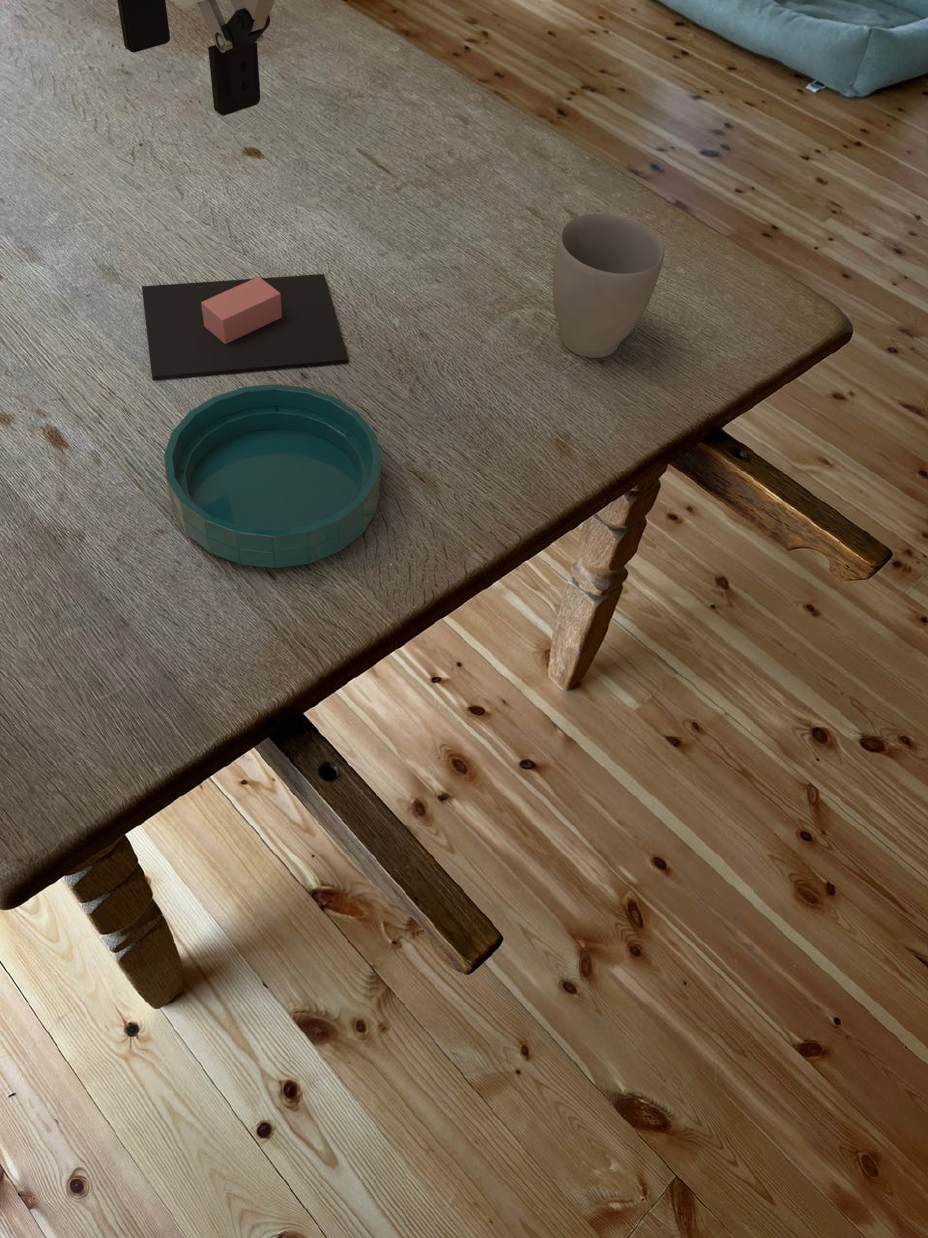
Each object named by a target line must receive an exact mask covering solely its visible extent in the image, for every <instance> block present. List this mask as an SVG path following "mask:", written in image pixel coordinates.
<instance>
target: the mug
mask: <svg viewBox="0 0 928 1238" xmlns="http://www.w3.org/2000/svg"><path fill="white" fill-rule="evenodd" d="M664 258H665V248H664V245H663V243H662V241H661V239H660V237H659V236H658V234H657V233H655V232H654V231H653V230H652V229H651V228H649V227H648V226H647V225H645V224H643V223H642V222H639V221H637V220H634V219H632V218H631V217H628V216H627V217H626V216H623V215H619V214H615V213H603V212H601V213H600V212H599V213H598V212H597V213H588V214H587V213H586V214H584V215H580V216H577V217H575V218H573V219H571V220H570V221H568V222H567V223H566V224H565V225H564V226H563V227H562V229H561V230H560V233H559V235H558V240H557V244H556V250H555V257H554V263H553V273H552V301H553V309H554V314H555V319H556V322H557V325H558V329H559V338H560V340H561V343H562V344H563V346H564V347H565V348H566V349H567V350H568V351H570V352H572V353H574V354H576V355H578V356H581V357H584V358H590V359H601V358H605V357H608V356H610V355H612V354H613V353H615V352H616V351H617V349H618V347H619V346H620V345H621V343H622V342H623V341H624V340H625V339H626V338H627V336H628V335H629V334H630V333H631V332H632V331H633V329H634V328H635V327H636V325H638V323H639V321H640V319H642V316H643V314H644V312H645V311H646V309H647V307H648V305H649V303H650V300H651V298H652V296H653V293H654V291H655V288H656V286H657V282H658V280H659V277H660V274H661V270H662V267H663V264H664Z"/></svg>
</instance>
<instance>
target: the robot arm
mask: <svg viewBox="0 0 928 1238" xmlns="http://www.w3.org/2000/svg"><path fill="white" fill-rule="evenodd" d="M166 1H167V0H116V2H117V8H118V15H119V21H120V26H121V33H122V39H123V46H124V48H125V49H126V50H127V51H129V52H131V53H133V54H134V53H138V52H142V51H145V50H148V49H153V48H156V47H159V46H162V45H166V44H168V43H169V42H170V40H171V34H170V26H169V25H170V24H169V18H168V17H169V16H168V9H167V2H166ZM169 1H170V2H171V3H173V4H175V5H176V6H178V7H180V8H183V9H191V8H195V7H196V6H198V8H199V10H200V12H201V15H202V17H203V20H204V22H205V25H206V26H207V28H208V31H209V33H210V36H211V38H212V41H213V43H214V44H213V45H211V46H207V49H208V62H209V71H210V82H211V92H212V103H213V109H214V111H215V112H216V113H217V114H219V115H220V116H222V117H224V116H225V117H226V116H228V115H231V114H234V113H237V112H240V111H243V110H245V109H248V108H251V107H255V106H257V105H258V104H259V102H260V101H261V83H260V67H259V51H258V43H260V42H262V41H263V40H264V33H265V31H266V30H267V29H268V28H269V26H270V24H271V16H270V15H271V12H272V10H273V6H274V3H275V0H169ZM228 1H230V2H231V4H232V7H233V9H234V11H235V12H234V13H233V14H232V15H231V17H230V18H229V20H228V21H227V22H226V20H225V18H224V16H223V14H222V11H221V8H220V6H219V4H221V3H225V2H228Z"/></svg>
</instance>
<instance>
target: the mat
mask: <svg viewBox="0 0 928 1238" xmlns="http://www.w3.org/2000/svg"><path fill="white" fill-rule="evenodd" d="M261 278H262V279H263V280H264V281H265V282H267V283H268V284H269V285H271V286H272V287H273V288H274V289H276V290H277V291H278V292H279V293H280V294H281V310H282V318H280V319H278V320H276V321H273V322H271V323H269V324H267V325H265V326H263V327H261V328H259V329H257V330H255V331H252V332H250V333H248V334H246V335H244V336H242V337H240V338H238V339H236V340H234V341H231V342H229V343H227V344H224V343H223V342H222V341H221V340H220V339H218V338H217V337H216V336H215V335H214V334H213V333H211V332H210V331H209V330H208V329H207V328H205V327H204V321H203V313H202V305H201V302H203V301H205V300H207V299H209V298H212V297H214V296H216V295H218V294H221V293H223V292H225V291H227V290H230V289H232V288H234V287H236V286H239V285H241V284H243V283H245V282H248V281H250V280H252V279H253V278H244V279H243V278H242V279H229V280H228V279H227V280H214V281H197V282H184V283H183V282H182V283H172V284H171V283H169V284H155V285H142V286H141V292H142V293H141V294H142V301H143V309H144V318H145V327H146V335H147V344H148V345H147V346H148V354H149V363H150V371H151V379H152V381H159V380H169V379H170V380H171V379H179V378H180V379H181V378H182V379H183V378H192V377H193V378H194V377H204V376H216V375H226V374H227V375H228V374H236V373H238V374H239V373H248V372H259V371H260V372H261V371H272V370H284V369H293V368H306V367H318V366H329V365H339V364H348V363H349V357H348V354H347V353H348V352H347V350H346V346H345V343H344V339H343V336H342V333H341V328H340V325H339V322H338V319H337V314H336V311H335V308H334V304H333V300H332V296H331V293H330V289H329V287H328V283H327V279H326V275H325V274H324V273H316V274H303V275H302V274H301V275H288V276H274V277H261Z"/></svg>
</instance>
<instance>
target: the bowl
mask: <svg viewBox="0 0 928 1238" xmlns="http://www.w3.org/2000/svg"><path fill="white" fill-rule="evenodd" d="M377 439H378V438H377V435H376V434H375V431H373V429H372V428H371V426H370V425H369V424H368V423H367V421H366V420H365V419H364V417H363V416H362V415H361V414H360V413H359V412H358V411H357V410H354V409H353V408H352V407H350V406H349V405H347V404H346V403H345V402H343V401H342V400H341V399H338V398H337V397H335V396H332V395H329V394H326V393H323V392H321V391H318V390H315V389H312V388H308V387H303V386H295V385H287V384H278V383H277V384H275V383H274V384H262V385H251V386H244V387H243V386H242V387H239V388H236V389H234V390H230V391H227V392H224V393H221V394H217V395H215V396H212V397H211V398H209V399H208V400H206V401H204V402H203V403H201V404H199V405H198V406H196V407H195V408H193V409H192V410H190V411H189V412H188V413H187V414H185V416H184V417H183V419H182V420H181V421H180V422H179V423H178V425H176V427H175V428H174V429H173V430H172V431H171V433H170V436H169V439H168V441H167V445H166V448H165V451H164V454H163V461H164V469H165V471H164V472H165V479H166V483H167V488H168V494H169V498H170V505H171V509H172V513H173V515H174V517H175V518H176V519H177V521H178V523H179V524H180V526H181V528H182V529H183V531H184V533H185V534H186V535H187V537H189V538H191V539H192V540H193V541H194V542H196V543H197V544H198V545H199V546H201V547H202V548H203V549H204V550H206V551H207V552H208V553H210V554H212V555H215V556H217V557H220V558H222V559H226V560H228V561H231V562H233V563H236V564H238V565H243V566H253V567H261V568H272V569H273V568H274V569H279V568H286V567H287V568H288V567H295V566H301V565H309V564H312V563H314V562H317V561H319V560H321V559H324V558H326V557H329V556H332V555H335V554H337V553H339V552H341V551H342V550H344V549H345V548H346V547H347V546H348V545H350V544H351V543H352V542H354V541H355V540H356V539H358V538H359V537H360V536H361V535H362V534H363V533H364V532H365V531H366V529H367V527H368V525H370V523H371V521H372V519H373V518H374V516H375V514H376V513H377V511H378V504H379V498H380V491H381V476H382V474H381V473H382V453H381V449H380V446H379V443H378V440H377Z"/></svg>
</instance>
